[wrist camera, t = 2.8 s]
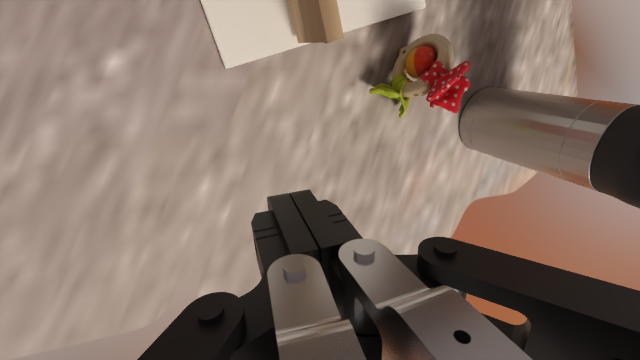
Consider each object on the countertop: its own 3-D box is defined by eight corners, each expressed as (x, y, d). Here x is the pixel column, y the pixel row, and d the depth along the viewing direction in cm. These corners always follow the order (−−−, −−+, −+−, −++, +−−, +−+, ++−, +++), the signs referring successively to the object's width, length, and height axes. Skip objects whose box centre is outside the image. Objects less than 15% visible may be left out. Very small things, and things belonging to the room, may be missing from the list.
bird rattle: (372, 41, 40) (359, 111, 38) (451, -7, 30) (439, 83, 29) (408, 64, 43) (397, 129, 41) (490, 26, 33) (481, 109, 32)
